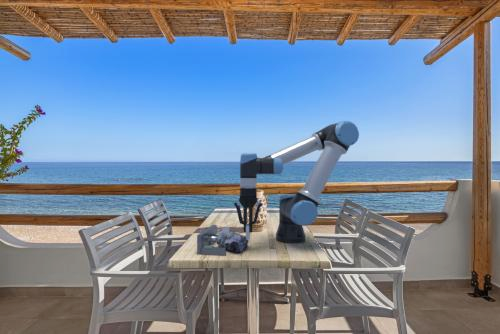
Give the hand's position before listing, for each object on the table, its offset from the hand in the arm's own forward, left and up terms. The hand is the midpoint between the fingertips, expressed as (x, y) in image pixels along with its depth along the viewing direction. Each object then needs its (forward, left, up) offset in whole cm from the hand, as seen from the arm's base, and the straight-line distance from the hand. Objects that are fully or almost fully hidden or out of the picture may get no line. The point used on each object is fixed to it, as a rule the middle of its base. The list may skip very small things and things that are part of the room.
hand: (247, 239), depth 133 cm
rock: (+5, +1, -5) cm, 7 cm away
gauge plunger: (+16, 0, -4) cm, 17 cm away
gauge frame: (+13, 0, -5) cm, 14 cm away
